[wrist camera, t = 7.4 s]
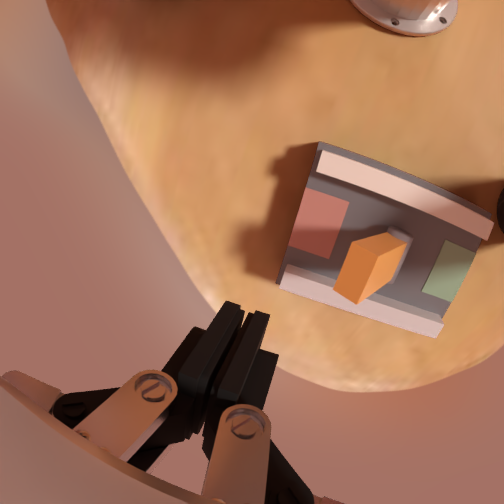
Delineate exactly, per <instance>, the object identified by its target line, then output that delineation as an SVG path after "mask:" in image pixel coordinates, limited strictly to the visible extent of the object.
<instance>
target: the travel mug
mask: <svg viewBox="0 0 504 504" xmlns="http://www.w3.org/2000/svg"><path fill="white" fill-rule="evenodd" d="M497 218H498V223H499V226H500V228H501V230H502V232H503V233H504V189H503V191H502V193H501V195H500V197H499V201H498V206H497Z"/></svg>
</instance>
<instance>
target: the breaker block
mask: <svg viewBox="0 0 504 504" xmlns="http://www.w3.org/2000/svg"><path fill="white" fill-rule="evenodd" d="M491 215H492V214H491V213H489V212H488V211H486V210H484V209H482V208H481V207H479V206H477V205H475V204H473V203H471V202H469V201H467V200H465V199H463V198H461V197H459V196H457V195H455V194H453V193H451V192H449V191H447V190H445V189H443V188H441V187H438V186H436V185H434V184H432V183H430V182H427V181H425V180H423V179H421V178H418V177H416V176H414V175H411V174H409V173H406V172H404V171H402V170H399V169H397V168H394V167H392V166H389V165H387V164H384V163H381V162H379V161H376V160H374V159H371V158H368V157H365V156H363V155H360V154H357V153H354V152H351V151H348V150H345V149H343V148H340V147H337V146H334V145H330V144H327V143H324V142H321V141H319V144H318V147H317V151H316V154H315V158H314V161H313V164H312V168H311V171H310V175H309V178H308V181H307V185H306V188H305V191H304V194H303V198H302V201H301V204H300V208H299V211H298V214H297V217H296V221H295V224H294V227H293V230H292V233H291V237H290V240H289V243H288V246H287V249H286V253H285V256H284V259H283V262H282V265H281V268H280V271H279V274H278V277H277V280H276V284H279V285H280V287H279V288H280V289H283V290H285V291H288V292H291V293H294V294H297V295H300V296H303V297H306V298H309V299H312V300H315V301H318V302H321V303H324V304H327V305H330V306H333V307H336V308H339V309H343V310H346V311H349V312H352V313H355V314H358V315H361V316H364V317H367V318H370V319H374V320H377V321H380V322H383V323H386V324H389V325H393V326H396V327H399V328H402V329H406V330H409V331H412V332H415V333H419V334H422V335H425V336H428V337H432V338H435V339H436V337H437V336H438V334H439V332H440V331H441V329H442V328H443V326H444V323H443V321H442V318H443V316H444V314H445V312H446V311H447V309H448V307H449V305H450V304H451V302H452V301H453V299H454V297H455V295H456V294H457V292H458V290H459V288H460V286H461V284H462V282H463V280H464V278H465V276H466V274H467V272H468V270H469V268H470V266H471V264H472V262H473V259H474V257H475V255H476V252H477V249H478V247H479V245H480V242H481V240H482V239H484V240H486V241H487V240H488V238H489V235H490V233H491V230H492V228H493V225H494V222H492V221H491V220H490V217H491ZM389 226H394V227H397V228H400V229H402V230H404V231H406V232H408V233H409V234H411V235H412V236H413V237H414V239H413V241H412V243H411V246H410V248H409V250H408V253H407V255H406V257H405V260H404V262H403V264H402V266H401V268H400V271H399V273H398V275H397V277H396V279H395V281H394V283H393V284H385V285H384V286H382V287H381V288H380V289H378V290H377V291H376V292H374V293H373V294H371V295H370V296H369V297H367V298H366V299H364V300H363V301H362V302H360V303H359V304H357V305H356V304H354V303H353V302H351V301H350V300H348V299H346V298H345V297H343V296H342V295H340V294H339V293H337V292H335V291H334V290H333V288H334V285H335V283H336V281H337V278H338V276H339V273H340V271H341V268H342V266H343V263H344V261H345V258H346V256H347V253H348V251H349V248H350V246H351V243H352V242H353V241H357V240H360V239H364V238H368V237H371V236H375V235H378V234H382V233H385V232H387V230H388V228H389Z"/></svg>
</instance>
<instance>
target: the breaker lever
mask: <svg viewBox="0 0 504 504" xmlns="http://www.w3.org/2000/svg"><path fill="white" fill-rule="evenodd" d="M413 239H414V237H413V236H412V235H411V234H409V233H408V232H406V231H404V230H402V229H400V228H397V227H394V226H389V228H388V230H387V232H385V233H382V234H378V235H375V236H371V237H368V238H364V239H360V240H357V241H353V242H352V243H351V246H350V248H349V251H348V253H347V256H346V258H345V261H344V263H343V266H342V268H341V271H340V273H339V276H338V278H337V281H336V283H335V285H334V288H333V290H334V291H335V292H337V293H339V294H340V295H342V296H343V297H345V298H346V299H348V300H350V301H351V302H353V303H354V304H356V305H357V304H359V303H360V302H362V301H363V300H364V299H366V298H367V297H369V296H370V295H371V294H373V293H374V292H376V291H377V290H378V289H380V288H381V287H382V286H384V285H385V284H393V283H394V281H395V279H396V277H397V275H398V273H399V271H400V268H401V266H402V264H403V262H404V260H405V257H406V255H407V253H408V250H409V248H410V246H411V243H412V241H413Z"/></svg>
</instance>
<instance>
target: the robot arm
mask: <svg viewBox="0 0 504 504" xmlns="http://www.w3.org/2000/svg"><path fill="white" fill-rule="evenodd" d="M350 1H351V3H352V4H353V5H354V6H355V7H356V8H357V9H358V10H359V11H360V12H361V13H362V14H363V15H364V16H366V17H367V18H369V19H370V20H371V21H373V22H375V23H376V24H378V25H380V26H382V27H384V28H386V29H389V30H391V31H394V32H397V33H401V34H404V35H410V36H430V35H434V34H437V33H439V32H441V31H443V30H445V29H446V28H447V27H448V26H450V24H451V23H452V22H453V21H454V19H455V17H456V14H457V10H458V1H457V0H350ZM440 21H441V22H442V23H441V22H440ZM392 23H394V24H395V25H396V26H395V25H393V24H392ZM240 307H241V306H240V305H238V304H235V303H232V302H229V301H225V303H224V304H223V306H222V307H221V309H220V310H219V312H218V313H217V315H216V316H215V318H214V319H213V321H212V322H211V324H210V325H209V327H208V328H207V330H204V329H201V328H198V327H193V328H192V330H191V331H190V333H189V334H188V335H187V336H186V338H185V340H184V341H183V342H182V343H181V345H180V346H179V347H178V349H177V350H176V351H175V353H174V354H173V356H172V357H171V358H170V360H169V361H168V362H167V364H166V365H165V367H164V368H163V369H162V371H158V370H145V371H142V372H139V373H137V374H136V375H134V376H133V377H132V378H131V379H130V380H129V381H127V382H126V383H125V384H124V385H123V386H122V387H119V388H111V389H103V390H94V391H86V392H75V393H69V394H63V393H62V392H61V390H60V389H58V388H55V387H53V386H50V385H48V384H46V383H44V382H41V381H39V380H37V379H35V378H32V377H30V376H28V375H26V374H24V373H22V372H19V371H9V372H6V373H5V374H4V375H3V376H0V504H345V503H342V502H339V501H336V500H333V499H331V498H328V497H325V496H324V497H323V498H321V497H318V496H316V495H313V494H312V492H311V491H310V489H309V488H308V487H307V486H306V484H305V483H304V482H303V481H302V479H301V478H300V477H299V476H298V474H297V473H296V472H295V471H294V469H293V468H292V467H291V465H290V464H289V463H288V461H287V460H286V459H285V458H284V456H283V455H282V454H281V452H280V451H279V450H278V448H277V447H276V446H275V444H274V443H273V442H272V440H271V439H270V437H271V436H270V435H271V422H270V420H269V418H268V416H267V415H266V414H265V413H264V412H263V411H262V410H263V407H264V404H265V400H266V397H267V394H268V391H269V387H270V384H271V380H272V377H273V374H274V371H275V367H276V364H277V360H278V357H279V355H278V354H275V353H271V352H268V351H265V350H262V349H260V346H261V343H262V340H263V337H264V334H265V330H266V327H267V324H268V321H269V317H270V315H269V314H266V313H263V312H260V311H257V310H256V311H255V313H254V314H253V313H250V312H249V313H248V315H247V317H246V319H245V321H244V323H243V325H242V321H243V317H244V313H245V311H244V310H241V309H240ZM241 325H242V327H241ZM204 422H205V424H204ZM203 424H204V429H203V434H202V436H203V437H204V440H203V445H202V449H203V451H204V453H205V455H206V457H207V458H208V460H209V463H208V467H207V471H206V475H205V480H204V484H203V488H202V492H201V495H198V494H195V493H193V492H190V491H187V490H185V489H182V488H180V487H178V486H175V485H172V484H170V483H168V482H166V481H164V480H161V479H159V478H157V477H155V476H152V475H150V474H151V472H152V471H153V470H154V469H155V468H156V467H157V466H158V464H159V463H160V462H161V461H162V460H163V458H164V457H165V456H166V455H167V454H168V452H169V451H170V450H171V448H172V447H173V445H174V443H178V442H182V441H184V440H185V438H186V439H188V440H189V439H190V437H191V435H192V433H195V434H198V433H199V432H200V430H201V428H202V426H203Z"/></svg>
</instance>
